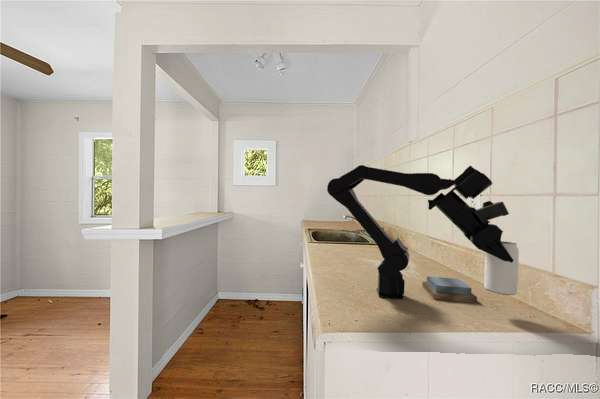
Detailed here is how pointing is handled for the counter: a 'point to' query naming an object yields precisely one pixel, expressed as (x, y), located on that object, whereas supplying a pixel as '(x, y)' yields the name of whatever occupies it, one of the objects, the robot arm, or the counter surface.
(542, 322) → the counter surface
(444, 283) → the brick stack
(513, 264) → the can
